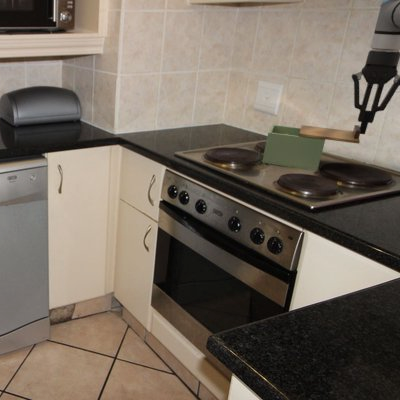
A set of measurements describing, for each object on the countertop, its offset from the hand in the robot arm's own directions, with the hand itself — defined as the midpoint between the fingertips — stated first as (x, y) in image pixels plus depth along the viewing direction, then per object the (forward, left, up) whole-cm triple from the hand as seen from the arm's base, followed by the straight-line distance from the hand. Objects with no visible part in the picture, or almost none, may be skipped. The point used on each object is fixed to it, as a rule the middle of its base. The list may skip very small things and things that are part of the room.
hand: (361, 132), depth 142 cm
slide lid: (+8, 0, -2) cm, 9 cm away
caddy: (+17, 0, -12) cm, 21 cm away
